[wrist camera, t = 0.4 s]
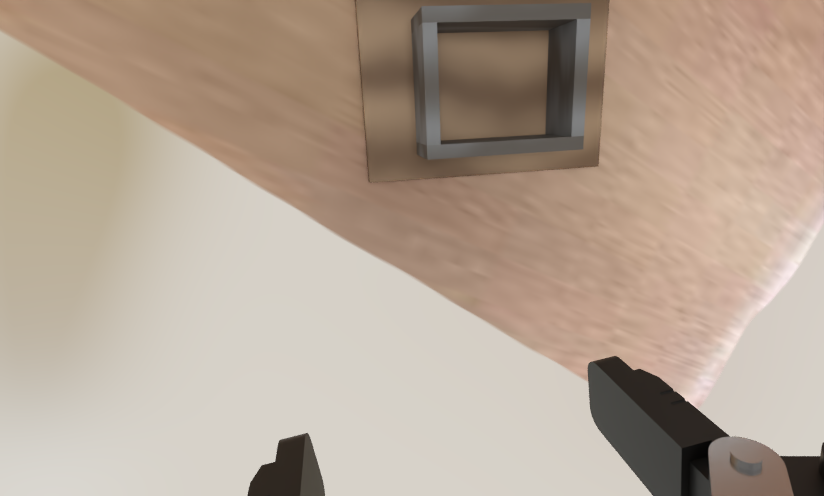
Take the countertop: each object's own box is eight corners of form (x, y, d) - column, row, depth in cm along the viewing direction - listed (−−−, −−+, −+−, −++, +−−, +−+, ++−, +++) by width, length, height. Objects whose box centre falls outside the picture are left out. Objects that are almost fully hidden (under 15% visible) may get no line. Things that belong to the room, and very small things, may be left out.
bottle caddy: (354, -7, 34) (358, -28, 29) (603, -10, 37) (646, -31, 32) (368, 180, 38) (374, 191, 33) (592, 165, 41) (629, 172, 36)
